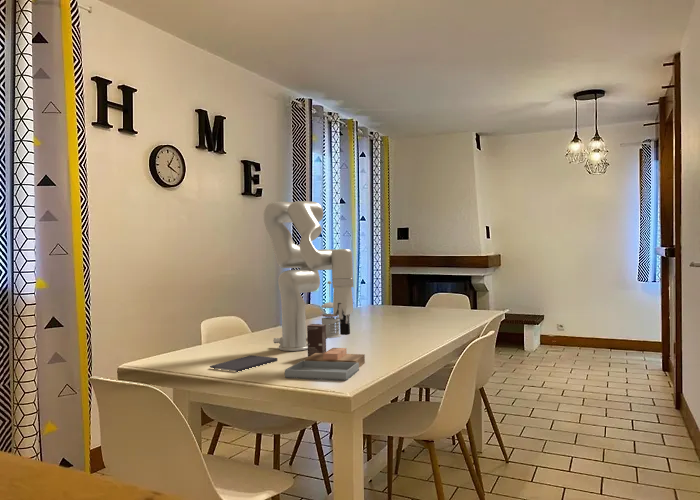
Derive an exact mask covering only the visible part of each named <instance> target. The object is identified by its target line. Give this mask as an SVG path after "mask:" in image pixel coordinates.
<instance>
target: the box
mask: <svg viewBox="0 0 700 500" xmlns="http://www.w3.org/2000/svg"><path fill="white" fill-rule="evenodd" d="M306 340H307V344H308V349H307V357H309V356H311V355H313V354H314V353H325V352H326V351H327V338H326V325H325V324H322V323H310V324H308V325H306Z"/></svg>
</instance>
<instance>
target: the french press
mask: <svg viewBox="0 0 700 500" xmlns="http://www.w3.org/2000/svg"><path fill="white" fill-rule="evenodd" d="M327 285H328V286H329V287H328V290H329V296H331V290H330V289H331V288H330V286H331V285H333V282H332V281H330V280H329V281H327ZM320 308H324V309H333V302H331V301H329V302H326V303H323V304H322V305H320ZM338 316H339V315H337V316H335V315H334V314H333V313H324V314H322V318H321V324H325V325H326V339H334V338H340V337H342V335H341V334H340V321H339V319H338Z"/></svg>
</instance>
